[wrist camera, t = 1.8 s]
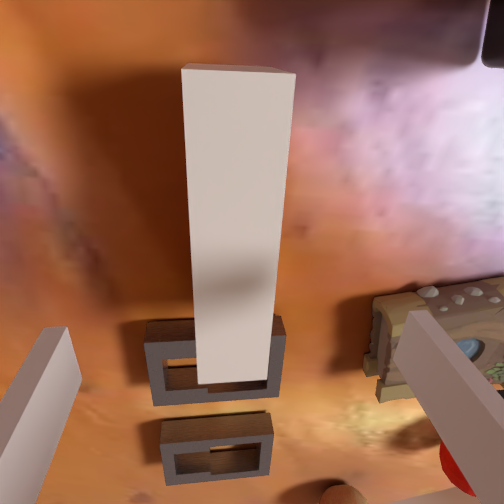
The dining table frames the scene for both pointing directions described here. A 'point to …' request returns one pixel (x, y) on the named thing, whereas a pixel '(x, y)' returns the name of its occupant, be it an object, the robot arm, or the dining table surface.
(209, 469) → the keyhole plates
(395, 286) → the dining table surface
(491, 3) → the smartphone
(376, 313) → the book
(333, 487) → the fruit
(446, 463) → the apple
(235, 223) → the bar
